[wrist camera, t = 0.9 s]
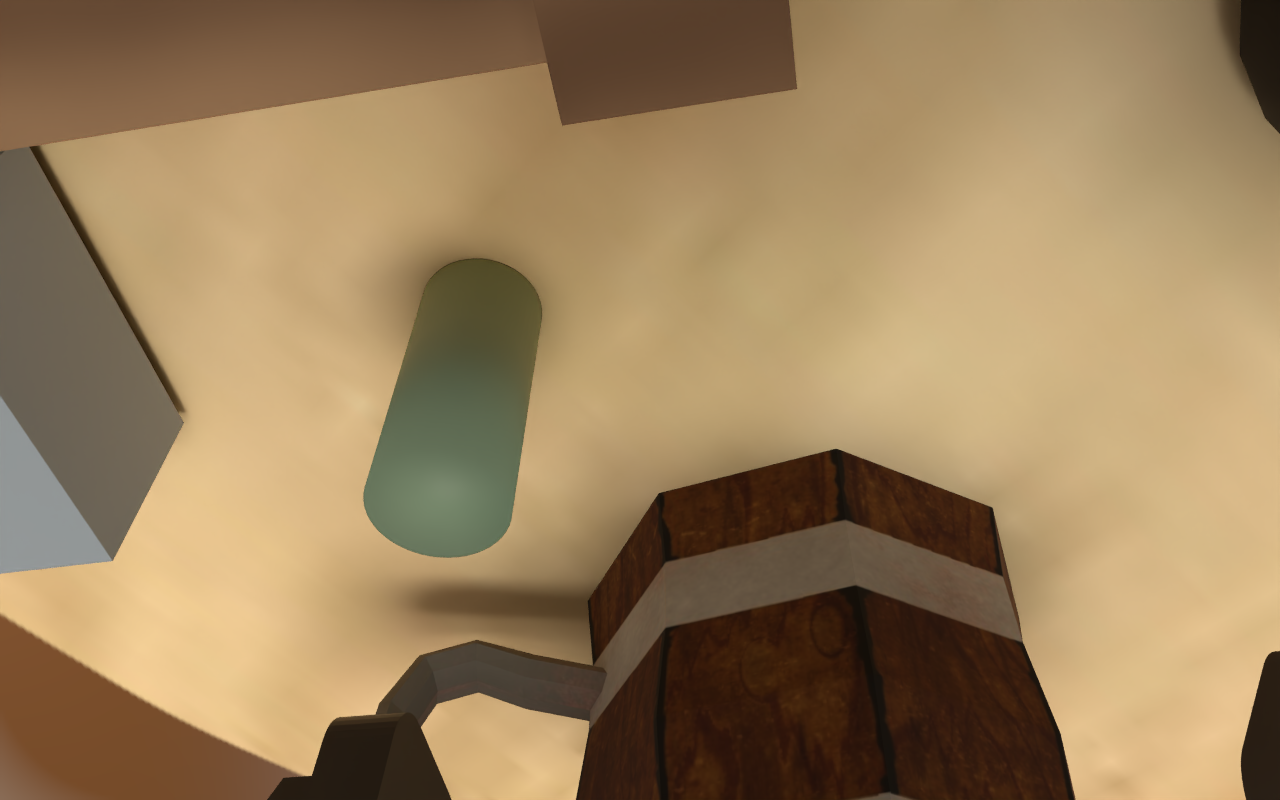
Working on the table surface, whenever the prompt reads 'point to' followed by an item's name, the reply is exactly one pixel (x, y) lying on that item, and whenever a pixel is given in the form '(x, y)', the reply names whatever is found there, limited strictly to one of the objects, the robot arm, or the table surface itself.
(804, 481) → the mug
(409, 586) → the table surface
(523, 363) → the dowel leg
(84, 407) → the hinged leg
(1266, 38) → the coffee jar
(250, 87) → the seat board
